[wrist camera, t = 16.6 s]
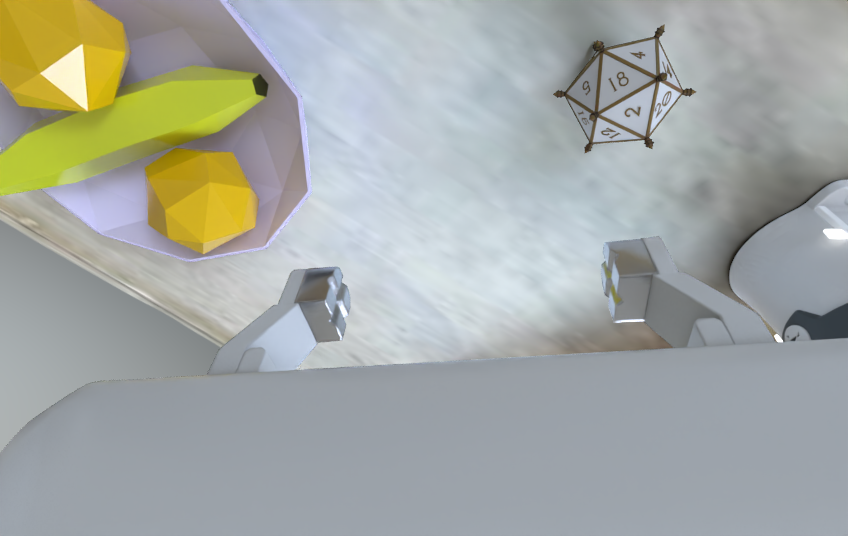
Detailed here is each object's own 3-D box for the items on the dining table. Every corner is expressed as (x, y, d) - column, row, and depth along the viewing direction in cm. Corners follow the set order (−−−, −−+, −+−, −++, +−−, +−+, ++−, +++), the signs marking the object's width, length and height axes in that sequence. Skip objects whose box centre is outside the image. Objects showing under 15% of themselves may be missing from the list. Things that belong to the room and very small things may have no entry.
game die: (605, 33, 40) (693, -23, 31) (650, 123, 42) (747, 97, 32) (519, 90, 40) (581, 51, 30) (569, 179, 41) (642, 169, 32)
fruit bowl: (308, -68, 34) (257, -37, 25) (332, 237, 52) (307, 314, 43) (-90, -102, 34) (-273, -83, 25) (72, 214, 52) (-4, 287, 43)
